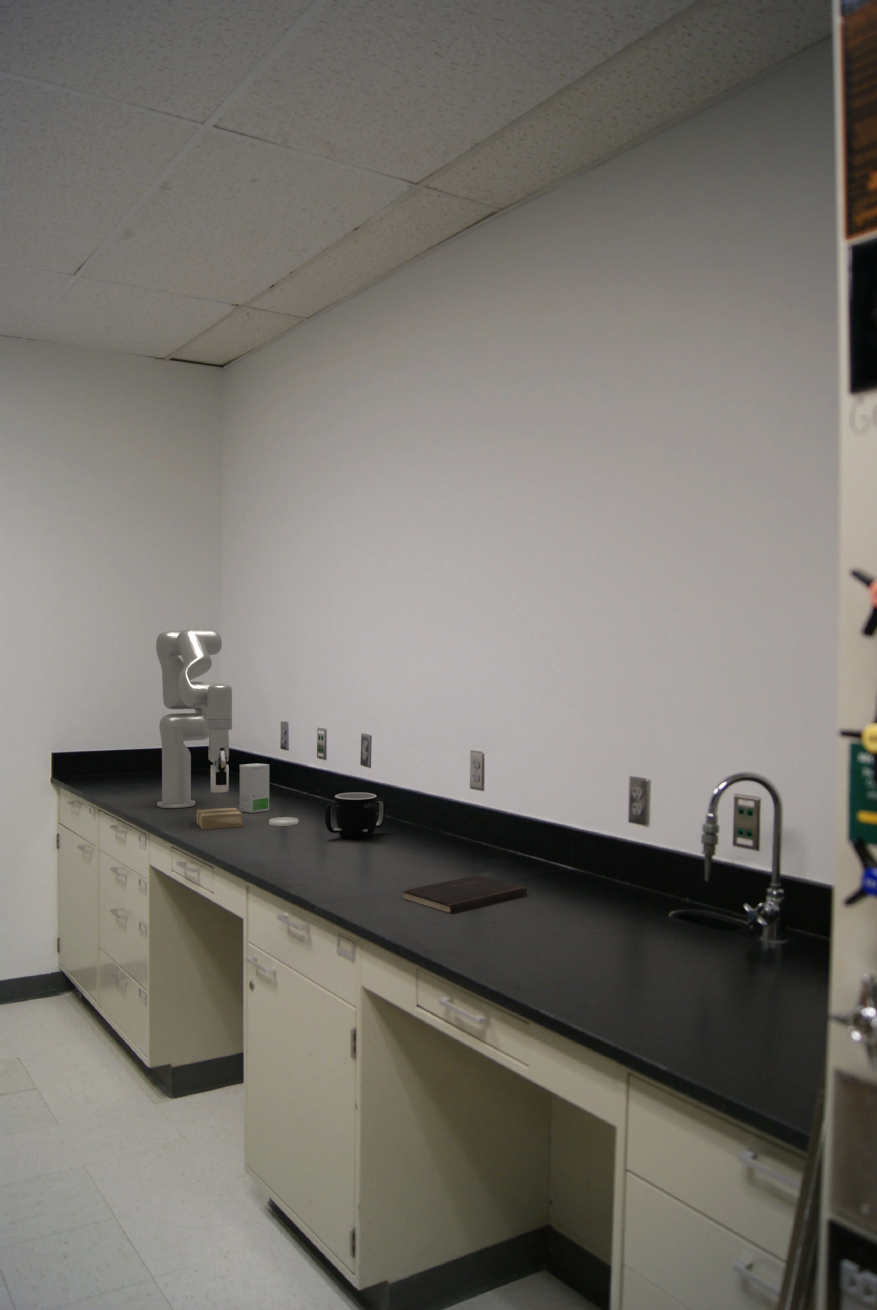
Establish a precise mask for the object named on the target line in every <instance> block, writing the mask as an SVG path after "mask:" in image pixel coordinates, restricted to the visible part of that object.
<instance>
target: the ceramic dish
mask: <svg viewBox="0 0 877 1310" xmlns="http://www.w3.org/2000/svg"><path fill="white" fill-rule="evenodd" d="M298 824H299V819H298V818H297V817H292V816H283V817H282V816H280V817H272V818H270V819H268V825H269V826H272V827H291V826H297V825H298Z"/></svg>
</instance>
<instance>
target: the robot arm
mask: <svg viewBox="0 0 877 1310" xmlns="http://www.w3.org/2000/svg"><path fill="white" fill-rule="evenodd" d="M222 642H223V641H222V638H221V635H220V633H219V632H218V631H217V630H215V629H212V628H211V629H210V628H209V629H207V628H204V629H203V628H189V629H188V628H187V629H184V630H168V631H167V630H166V631H162V632H161V633H159V634H158V636H157V637H156V642H155V643H156V644H155V651H156V654H157V659H158V661H159V663H160V668H161V679H162V680H161V682H162V699H163V700H162V701H163V705H164V707H165V708H167V709H169V710H194V712H183V713H181V712H180V713H177V712H176V713H170V714H169V713H168V714H165V715H164V716H162V718H161V719H160V720H159V727H158V729H159V734H160V740H161V771H162V772H161V774H162V775H161V784H162V785H161V800H160V801H158V802H157V803H156V804H157V807H158V808H164V809H183V808H189V807H193V806H195V805H196V801H195V800H193V799H191V796H192V795H191V791H192V789H191V787H192V784H191V783H192V782H191V781H192V780H191V779H192V775H191V774H192V773H191V771H192V765H191V762H192V759H191V758H192V755H191V751H190V750H189V748H188V747H187V746H186V744H185V743H184V742H191V741H204V740H208V758H207V759H208V760H209V761H210V762H212V765H214V763H215V761H216V766H217V772H216V785H226V784H227V772H226V765H227V763H228V761H229V758H230V757H229V756H230V741H229V740H230V735H229V731H231V730H233V689H232V687H231V685H229V684H228V685H227V684H224V683H218V682H216V683H215V682H214V683H213V682H212V683H208V682H203V681H192V680H194V679H197V678H198V677H200V676H202V675H205V674H206V673H208V672H209V671H210V670H211V668H212V666H213V661H212V657H211V656H213V655H218V654H219V653H220V652H221V650H222V644H223V643H222ZM180 656H181V657H180ZM218 761H221V762H218Z"/></svg>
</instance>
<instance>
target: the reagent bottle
mask: <svg viewBox="0 0 877 1310" xmlns="http://www.w3.org/2000/svg"><path fill="white" fill-rule="evenodd" d="M218 762H221V761H218ZM229 771H230V769H229V764H226V772H227V784H226V785H216V772H217V766H216V761H215V763H214V765H213V764H211V765H210V792H211V793H227V792H229V789H230V788H229V783H230V782H229V780H230V779H229V778H230V777H229V773H230V772H229Z"/></svg>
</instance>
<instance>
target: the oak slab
mask: <svg viewBox="0 0 877 1310" xmlns="http://www.w3.org/2000/svg"><path fill="white" fill-rule="evenodd" d="M196 824H197V825H198V826H199V827H200V828H201V830H212V829H214V830H216V829H227V828H228V829H230V828H243V812H241V811H239V809H238V808H237V807H222V808H221V807H220V808H205V809H204V808H203V809H196Z"/></svg>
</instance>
